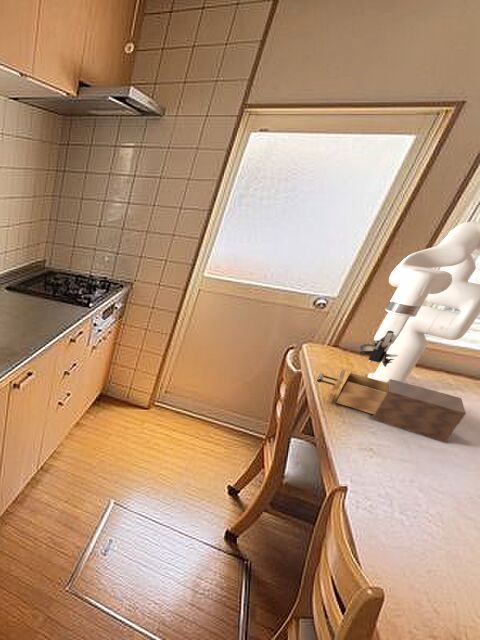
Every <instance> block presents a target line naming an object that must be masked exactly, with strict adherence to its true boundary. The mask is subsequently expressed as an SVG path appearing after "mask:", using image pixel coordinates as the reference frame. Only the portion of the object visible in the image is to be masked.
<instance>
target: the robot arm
mask: <svg viewBox="0 0 480 640" xmlns="http://www.w3.org/2000/svg"><path fill="white" fill-rule="evenodd" d="M472 255H477V256H478V255H479V256H480V221H479V220H478V221H476V220H475V221H474V220H473V221H465V222H462V223H460V224H458V225H456V226H455V227H454V228H453V229H451V230H450V231H449V232H448V234H447V235H446V236H445V238H443V240H442V241H440V242H439V244H437V246H432V247H429V248H425V249H421V250H419V251H416V252H412V253H411V254H409V255H408V256H406V257H405V258H403V260H401V262H400V263H399V264H398V265H396V267H394V269H393V270H392V271H391V273H390V274H389V278H388V284H389V285H390V286H391V287H394V288H396V290H395V292H394V293H393V295H392V296H391V299H390V300H389V302H388V305H387V306H386V308H385V310H384V311H385V312H386V315H385V317H384V318H383V319H382V322H381V324H380V325H379V327H378V329H377V331H376V332H375V334H374V336H373V341H374V342H375V343H374V344H373V345H376V348H375V349H374V350H373V352H372V353H371V355H369V357H368V361H369V360H371V361H372V362H375V363H379V365H378V367H377V368H376V370H375V371H374V372H370V373H368V374H367V376H366V377H368V378H372V379H375V380H379V381H383V382H386V383H387V382H388V381H389V379H393V380H396V381H400V382H404V383H407V382H406V381H407V379H408V378H409V377H410V374H411V373H412V371H413V370H414V368H415V366H416V365H417V363H418V362H419V360H420V358H421V357H422V355H423V354H424V352H425V351H426V349H427V347H428V341H427V338H426V335H429V336H433V337H438V338H441V339H445V340H451V341H456V340H459V339H461V338H463V337H464V336H465V334H467V332H468V331H469V330H470V328H471V326H472V325H473V324H474V322H475V321H476V319H477V318H478V316H479V315H480V283H477V282H476V283H475V282H469V280H470V278H471V277H472V275H473V274H474V272H475V271H476V268H477V266H476V262H475V259H474V257H473V256H472ZM435 268H439V269H435ZM425 302H426V303H429V304H432V305H433V304H434V305H437V306H442V307H446V308H451V309H456V310H459V313H458V312H455V311H450V310H446V309H442V308H436V307H433V306H427V305H426V306H425V305H423V304H424V303H425ZM386 353H387V354H397V355H398V356H395V357H386V359H387V358H388V359H394V360H391V361H389V362H392V363H388V364H387V365H386V367H385V366H384V365H383V362H382V359H383V357H384V356H385V354H386ZM407 384H409V383H407Z"/></svg>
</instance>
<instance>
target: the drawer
mask: <svg viewBox="0 0 480 640" xmlns="http://www.w3.org/2000/svg"><path fill="white" fill-rule="evenodd" d="M346 372H347V371H346V369H345V368H344V369H343V368H341V369H340V372H339V374H338V375H337V377H336V378H335V377H332V376H328V375H325V374H324V373H320V374H319V375H318V377H317V379H316V382H317V383H323V384H328V385H330V386H332V387H331V389H330V391H329V394H328V396H327V399H326V402H327V403H332V401H333V399H334V397H335V396H336V393H337V391H338V390H339V388H340V386H341V384H342V383H343V380H344V378H345V374H346ZM324 378H325V379H328V380H332V381H334V382H331V381H327V380H325V379H324ZM387 393H388V383H386V382H383V381H379V380H375V379H372V378H368V377H367V376H364V375H360V374H357V373H353V372H350V373H349V374H348V376H347V378H346V380H345V382H344V383H343V385H342V387H341V389H340V391H339V393H338V396H337V399H336V402H335V403H337V404H339V405H342V406H346V407H349V408H352V409H355V410H358V411H361V412H365V413H368V414H372V415H373V414H375V413H376V411H377V409H378V408H379V406H380V404H381V403H382V401H383V399H384V398H385V396H386V394H387Z"/></svg>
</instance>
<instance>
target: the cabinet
mask: <svg viewBox="0 0 480 640" xmlns="http://www.w3.org/2000/svg"><path fill="white" fill-rule="evenodd" d="M387 383H388V393H387V394H386V396H385V398H384V399H383V401H382V403H381V404H380V406H379V408H378V409H377V411H376V413H375V414H372V415H371V416H372V417H371V420H373V421H376V422H379V423H383V424H386V425H389V426H392V427H395V428H398V429H400V430H405V431H408V432H410V433H414V434H417V435H421V436H423V437H426V438H429V439H432V440H436V441H439V442H442V443H446V442H447V440H448V439H449V437H450V436H451V435H452V434H453V432H454V431H455V429H456V428H457V426H458V425H459V424H460V422H461V421H462V419H463V418H464V417H465V415H466V414H467V413H466V410H465V405H464V402H463V399H462V397H459V396H455V395H451V394H448V393H444V392H441V391H437V390H434V389H430V388H425V387H422V386H418V385H414V384H411V383H408V384H407V382H406V383H404V382H400V381H396V380H393V379H389V381H388V382H387Z"/></svg>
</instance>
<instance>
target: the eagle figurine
mask: <svg viewBox="0 0 480 640" xmlns="http://www.w3.org/2000/svg"><path fill="white" fill-rule="evenodd" d="M358 348H359V350H360V351H359V355H368V356H370V355H371V353H372V352H373V350H374V349H375V348H376V345H374V344H371V343H365V344H361V345H359V346H358ZM395 356H398V355H397V354H387V352H386V354H385V356H384V357H383V359H382V362H383V365H384V366H385V367H386V365H387V364H388V363H392V362H389V361H391V360H394V359H388V358H387V359H386V357H395ZM372 362H373V361H371V360H369V359H368V362H367V363H368V364H370V363H372Z"/></svg>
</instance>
